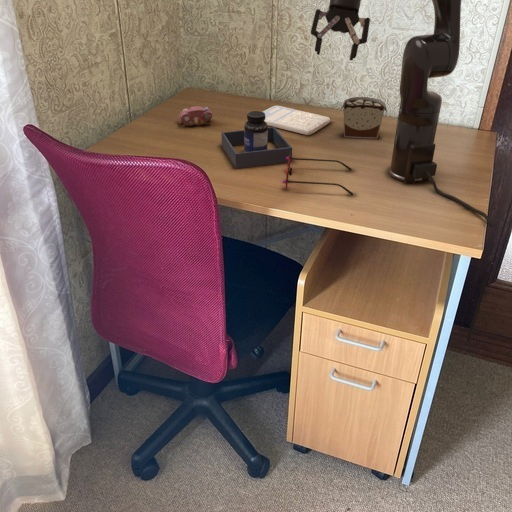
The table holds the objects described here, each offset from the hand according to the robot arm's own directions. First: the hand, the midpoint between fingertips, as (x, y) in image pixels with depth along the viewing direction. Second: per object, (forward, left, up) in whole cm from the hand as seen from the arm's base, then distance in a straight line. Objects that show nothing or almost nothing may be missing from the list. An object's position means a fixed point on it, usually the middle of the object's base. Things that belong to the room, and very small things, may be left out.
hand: (334, 57), depth 146 cm
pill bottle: (-2, +21, -23) cm, 32 cm away
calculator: (+18, +4, -23) cm, 30 cm away
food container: (+4, -12, -23) cm, 27 cm away
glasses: (-21, +11, -23) cm, 34 cm away
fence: (-2, +21, -23) cm, 32 cm away
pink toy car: (+24, +32, -23) cm, 47 cm away
